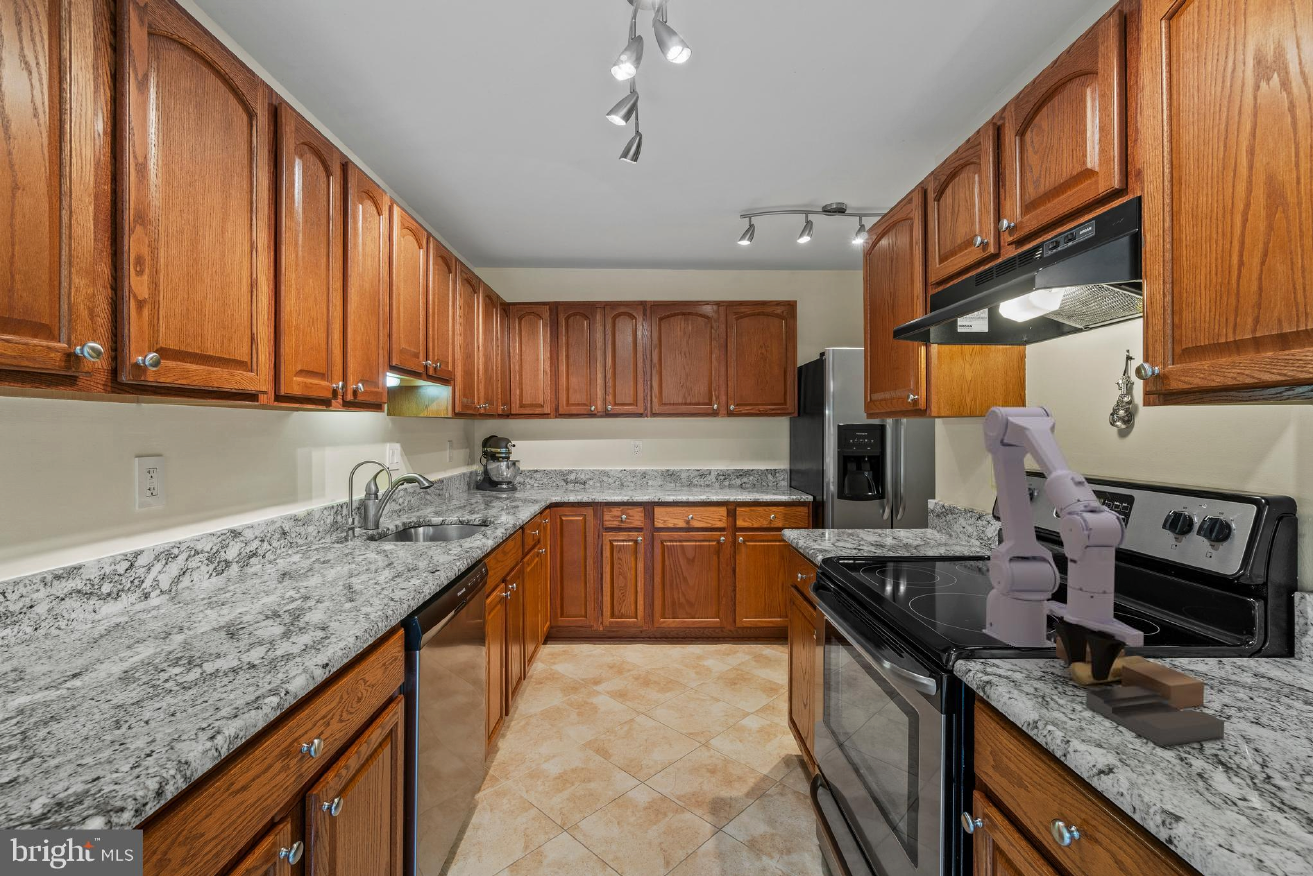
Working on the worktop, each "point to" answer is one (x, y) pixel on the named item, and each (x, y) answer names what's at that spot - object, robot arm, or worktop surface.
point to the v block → (1154, 716)
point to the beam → (1155, 679)
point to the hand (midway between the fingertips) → (1088, 673)
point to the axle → (1084, 674)
